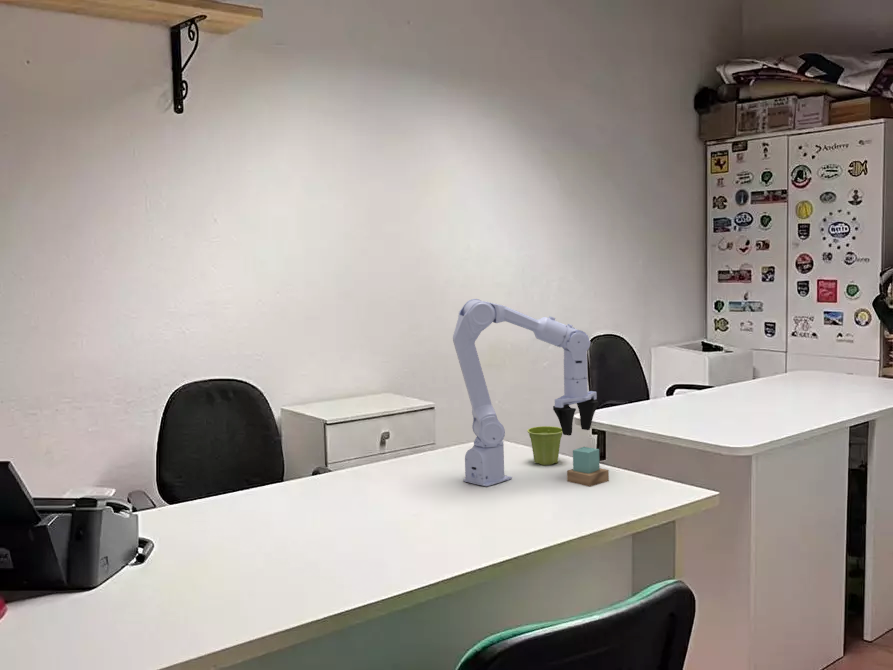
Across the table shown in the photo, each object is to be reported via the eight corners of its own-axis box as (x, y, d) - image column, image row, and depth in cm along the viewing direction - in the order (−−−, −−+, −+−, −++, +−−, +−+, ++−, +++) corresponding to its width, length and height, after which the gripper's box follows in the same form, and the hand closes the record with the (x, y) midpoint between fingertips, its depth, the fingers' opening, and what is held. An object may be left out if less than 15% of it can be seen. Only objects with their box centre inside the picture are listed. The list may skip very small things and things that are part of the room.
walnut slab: (589, 488, 211) (589, 475, 210) (567, 482, 216) (566, 470, 215) (608, 482, 215) (608, 470, 215) (586, 477, 220) (585, 465, 220)
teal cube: (589, 473, 212) (588, 452, 212) (573, 470, 215) (572, 450, 215) (599, 469, 215) (599, 449, 215) (583, 466, 219) (583, 446, 218)
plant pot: (566, 466, 230) (565, 433, 229) (529, 467, 230) (528, 434, 229) (562, 457, 239) (561, 425, 238) (526, 458, 239) (526, 426, 238)
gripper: (570, 383, 212) (571, 439, 214) (606, 375, 222) (607, 429, 224) (547, 380, 217) (548, 435, 219) (583, 373, 227) (584, 425, 229)
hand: (576, 432), depth 221 cm, fingers open, 7 cm apart
